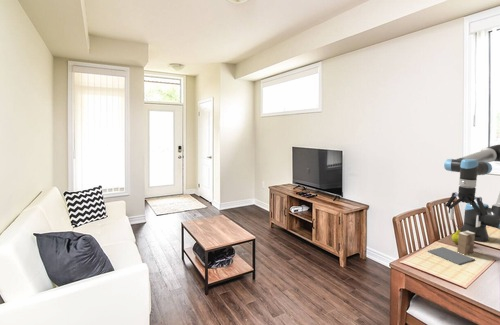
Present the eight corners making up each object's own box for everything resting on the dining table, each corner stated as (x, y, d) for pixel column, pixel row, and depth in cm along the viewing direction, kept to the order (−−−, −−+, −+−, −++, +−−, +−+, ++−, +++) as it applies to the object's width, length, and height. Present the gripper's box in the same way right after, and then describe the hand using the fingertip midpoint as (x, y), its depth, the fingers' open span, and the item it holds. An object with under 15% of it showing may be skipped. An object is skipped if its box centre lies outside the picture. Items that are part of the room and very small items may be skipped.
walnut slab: (465, 249, 163) (467, 230, 162) (473, 252, 160) (475, 233, 158) (457, 252, 160) (459, 232, 159) (464, 254, 156) (466, 235, 155)
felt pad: (442, 247, 166) (442, 246, 166) (474, 260, 150) (474, 259, 150) (427, 251, 160) (427, 250, 160) (458, 264, 145) (458, 263, 145)
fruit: (466, 244, 170) (468, 226, 169) (462, 247, 167) (463, 228, 165) (454, 241, 176) (455, 223, 175) (449, 243, 173) (450, 225, 171)
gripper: (440, 183, 163) (437, 217, 165) (490, 191, 140) (486, 231, 143) (448, 182, 166) (445, 215, 168) (498, 190, 143) (494, 228, 146)
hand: (464, 222), depth 155 cm, fingers open, 13 cm apart
